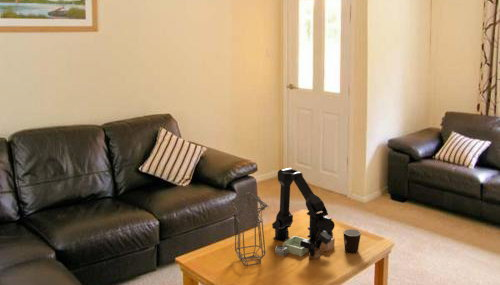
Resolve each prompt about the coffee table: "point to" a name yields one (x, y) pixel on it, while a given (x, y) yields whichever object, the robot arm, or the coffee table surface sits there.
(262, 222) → the geometric lantern
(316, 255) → the walnut block
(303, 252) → the bin
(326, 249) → the open square box
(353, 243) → the coffee mug
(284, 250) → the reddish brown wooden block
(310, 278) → the coffee table surface
